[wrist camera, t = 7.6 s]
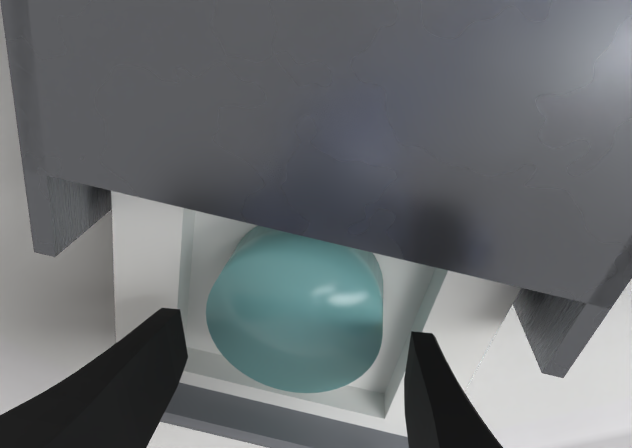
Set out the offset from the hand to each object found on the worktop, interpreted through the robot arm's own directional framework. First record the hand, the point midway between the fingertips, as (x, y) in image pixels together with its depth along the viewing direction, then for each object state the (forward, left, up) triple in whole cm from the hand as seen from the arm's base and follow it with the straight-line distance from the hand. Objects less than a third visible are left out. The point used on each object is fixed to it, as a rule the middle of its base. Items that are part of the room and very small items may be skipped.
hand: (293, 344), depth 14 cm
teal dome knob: (0, 0, -3) cm, 3 cm away
